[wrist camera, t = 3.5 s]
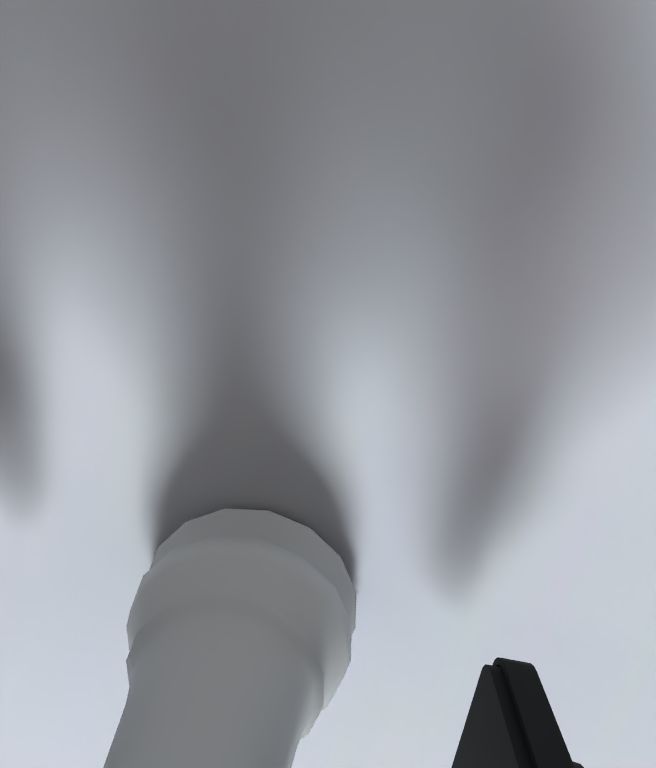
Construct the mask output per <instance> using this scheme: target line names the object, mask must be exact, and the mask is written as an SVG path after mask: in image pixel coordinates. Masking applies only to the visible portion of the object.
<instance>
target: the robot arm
mask: <svg viewBox="0 0 656 768" xmlns="http://www.w3.org/2000/svg"><path fill="white" fill-rule="evenodd" d="M452 768H584V767H583V766H582V765H581V764H579V763H576V762H572V760H571V757H570V754H569V752H568V749H567V747H566V744H565V742H564V739H563V737H562V734H561V732H560V729H559V727H558V724H557V722H556V719H555V717H554V714H553V711H552V709H551V706H550V704H549V701H548V699H547V696H546V694H545V691H544V689H543V686H542V684H541V681H540V679H539V676H538V673H537V671H536V669H535V667H534V666H533V665H532V664H531V663H526V662H521V661H515V660H510V659H505V658H496V659H495V660H494V663H493V665H484V666H483V668H482V671H481V674H480V677H479V681H478V684H477V687H476V690H475V693H474V697H473V700H472V703H471V706H470V710H469V713H468V716H467V719H466V723H465V726H464V729H463V732H462V736H461V739H460V742H459V745H458V749H457V752H456V755H455V758H454V761H453V765H452Z"/></svg>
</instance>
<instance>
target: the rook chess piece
mask: <svg viewBox="0 0 656 768" xmlns="http://www.w3.org/2000/svg"><path fill="white" fill-rule="evenodd" d="M355 620H356V590H355V588H354V586H353V584H352V581H351V579H350V577H349V575H348V572H347V570H346V568H345V566H344V563H343V561H342V559H341V557H340V556H339V555H338V554H337V553H336V552H335V551H334V550H333V549H332V548H331V547H330V546H329V545H328V544H327V543H326V542H324V541H323V540H322V539H321V538H320V537H319V536H318V535H317V534H316V533H315V532H314V531H313V530H312V529H311V528H309V527H307V526H305V525H302V524H300V523H298V522H295V521H293V520H290V519H288V518H286V517H283V516H281V515H278V514H276V513H274V512H271V511H269V510H248V509H227V508H225V509H222V510H219V511H216V512H213V513H210V514H207V515H204V516H201V517H198V518H195V519H192V520H189V521H186V522H185V523H184V524H183V525H182V526H180V527H179V528H178V529H177V530H176V531H175V532H174V533H173V534H172V535H171V536H170V537H169V538H167V539H166V540H165V541H164V542H163V543H162V544H161V545H160V546H159V547H158V549H157V552H156V554H155V557H154V559H153V562H152V565H151V567H150V570H149V571H148V572H147V573H146V574H145V575H144V576H143V578H142V580H141V583H140V586H139V588H138V591H137V594H136V596H135V599H134V602H133V604H132V607H131V610H130V614H129V618H128V622H127V633H128V642H129V650H130V652H129V655H128V658H127V660H126V662H127V670H128V679H129V692H128V697H127V702H126V705H125V708H124V711H123V714H122V717H121V719H120V722H119V725H118V728H117V731H116V734H115V736H114V739H113V742H112V745H111V748H110V750H109V753H108V756H107V759H106V762H105V764H104V767H103V768H291V766H292V762H293V759H294V755H295V752H296V748H297V745H298V742H299V740H300V739H301V738H303V737H304V736H306V735H307V734H308V733H309V732H310V730H311V728H312V726H313V724H314V723H315V721H316V719H317V717H318V715H319V714H320V712H321V711H322V710H323V709H325V708H326V707H327V706H328V704H329V702H330V701H331V699H332V697H333V695H334V693H335V692H336V690H337V688H338V686H339V684H340V683H341V681H342V679H343V677H344V675H345V673H346V670H347V668H348V666H349V663H350V661H351V635H352V633H353V631H354V629H355Z"/></svg>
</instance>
